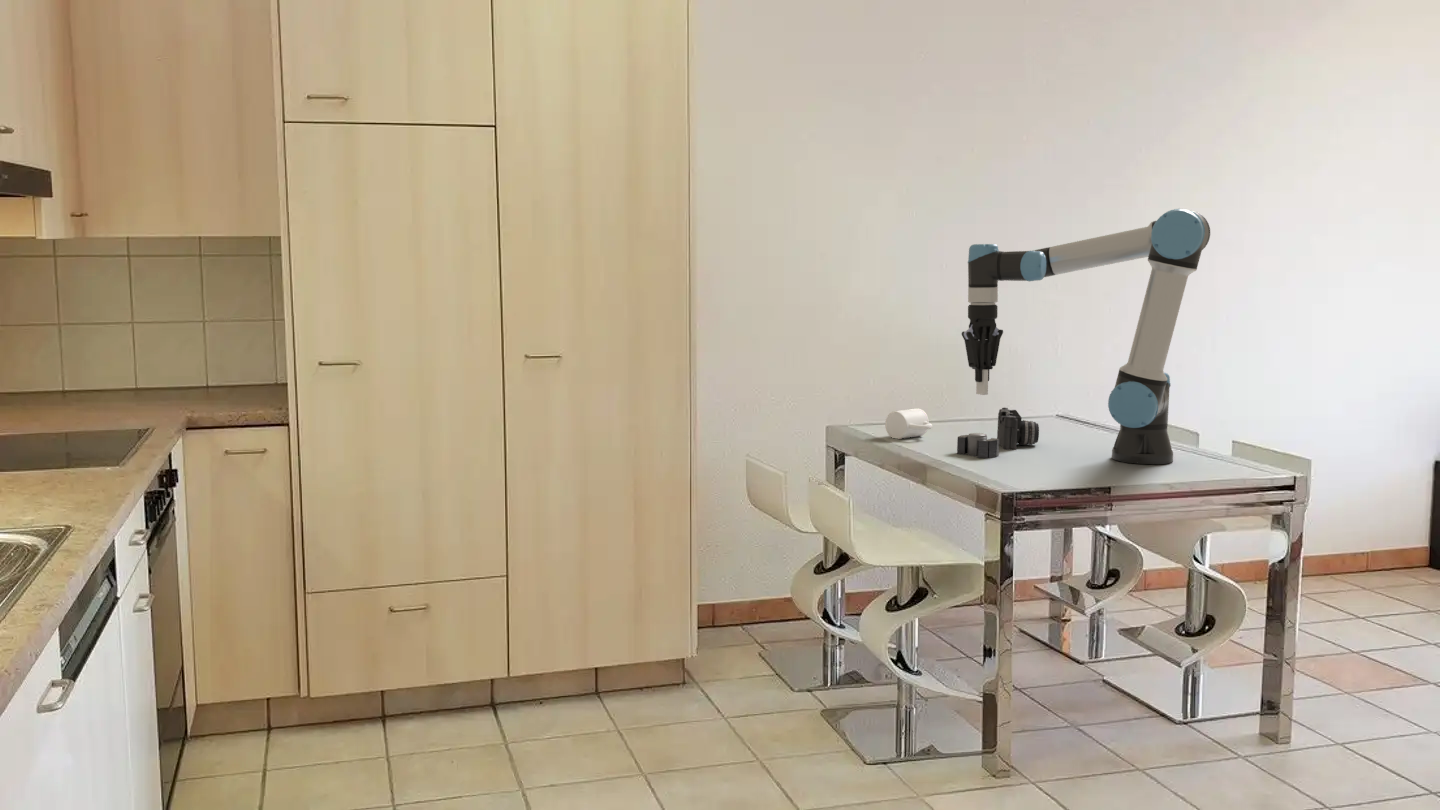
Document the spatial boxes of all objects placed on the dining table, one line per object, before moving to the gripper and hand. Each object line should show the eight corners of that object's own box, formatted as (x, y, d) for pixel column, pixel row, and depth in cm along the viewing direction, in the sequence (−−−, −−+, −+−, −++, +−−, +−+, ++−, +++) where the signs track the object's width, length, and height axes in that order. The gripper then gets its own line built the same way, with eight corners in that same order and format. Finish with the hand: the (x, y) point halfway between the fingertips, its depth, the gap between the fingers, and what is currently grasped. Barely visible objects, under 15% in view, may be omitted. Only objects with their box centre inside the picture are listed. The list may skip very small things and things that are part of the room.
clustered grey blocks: (1002, 456, 347) (1003, 439, 346) (981, 458, 343) (982, 441, 342) (972, 450, 356) (973, 433, 355) (952, 452, 352) (952, 436, 351)
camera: (1042, 450, 357) (1044, 414, 356) (1002, 450, 357) (1003, 413, 356) (1032, 442, 371) (1033, 406, 370) (993, 441, 372) (994, 406, 370)
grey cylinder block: (990, 455, 349) (991, 434, 348) (977, 456, 346) (977, 436, 345) (977, 452, 353) (977, 432, 352) (963, 454, 350) (963, 434, 349)
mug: (884, 437, 377) (885, 409, 376) (907, 434, 384) (908, 406, 383) (917, 443, 368) (917, 414, 367) (940, 439, 375) (940, 411, 374)
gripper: (990, 302, 351) (989, 391, 353) (954, 304, 343) (953, 394, 346) (1011, 303, 344) (1010, 393, 347) (974, 305, 337) (974, 397, 340)
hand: (982, 394), depth 347 cm, fingers closed
